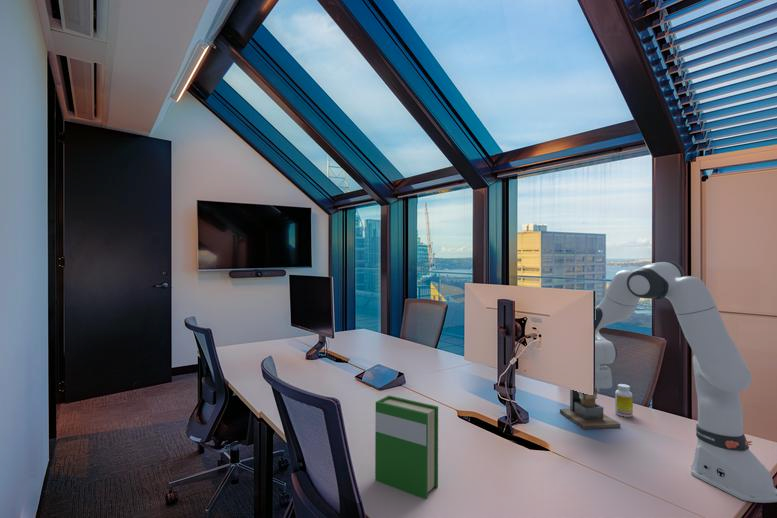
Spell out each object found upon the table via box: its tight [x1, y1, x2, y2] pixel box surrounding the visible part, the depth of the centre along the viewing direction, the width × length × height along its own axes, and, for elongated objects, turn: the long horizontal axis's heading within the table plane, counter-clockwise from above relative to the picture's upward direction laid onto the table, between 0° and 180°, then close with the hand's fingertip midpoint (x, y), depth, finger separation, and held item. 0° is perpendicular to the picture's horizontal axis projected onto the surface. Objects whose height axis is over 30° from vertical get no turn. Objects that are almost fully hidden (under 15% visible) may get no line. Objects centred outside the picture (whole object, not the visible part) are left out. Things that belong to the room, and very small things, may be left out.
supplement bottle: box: [614, 383, 634, 418], centre depth 178 cm, size 7×7×13 cm
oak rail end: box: [581, 393, 596, 407], centre depth 172 cm, size 4×4×12 cm
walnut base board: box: [559, 408, 621, 430], centre depth 172 cm, size 18×16×2 cm
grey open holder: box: [569, 389, 604, 420], centre depth 173 cm, size 12×8×14 cm
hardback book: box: [374, 395, 439, 500], centre depth 121 cm, size 18×7×24 cm, turn 56°
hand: (588, 398), depth 172 cm, fingers closed on oak rail end, 4 cm apart
